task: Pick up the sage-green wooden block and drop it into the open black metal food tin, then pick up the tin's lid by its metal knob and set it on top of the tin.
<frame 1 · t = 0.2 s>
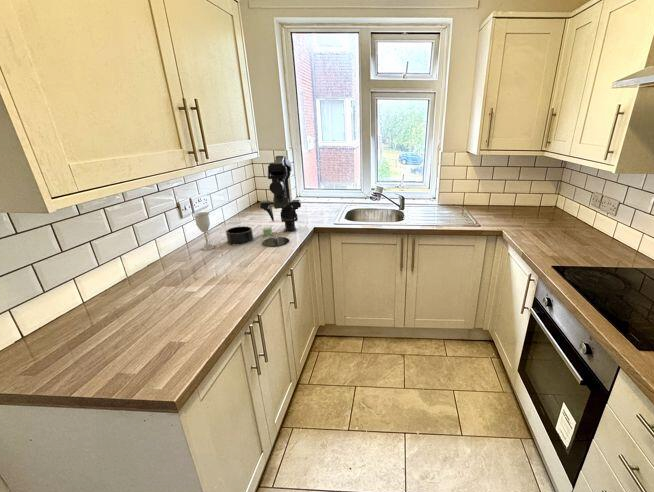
hand: (283, 221, 157), 15 cm above the worktop, tool pointing down, fingers open, 9 cm apart
tin lid: (275, 242, 169), point 1 cm above the worktop
tin: (240, 241, 171), on the worktop
chalice: (208, 248, 161), on the worktop
block: (268, 235, 180), on the worktop
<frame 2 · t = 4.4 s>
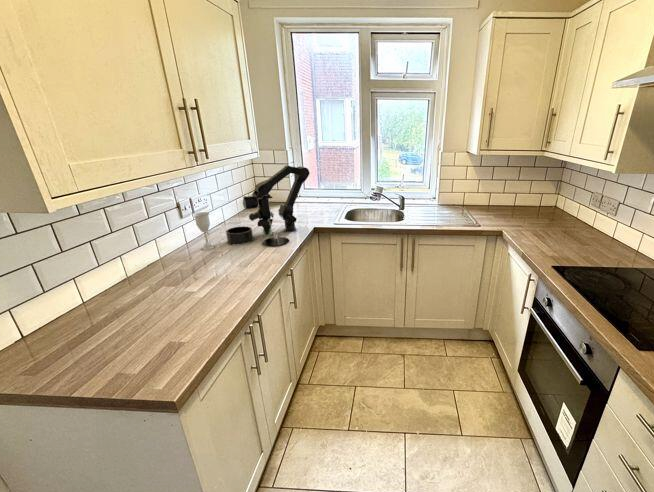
hand: (267, 233, 180), 1 cm above the worktop, tool pointing down, fingers closed on block, 4 cm apart
block: (268, 235, 180), on the worktop, touching gripper
everything else where it was.
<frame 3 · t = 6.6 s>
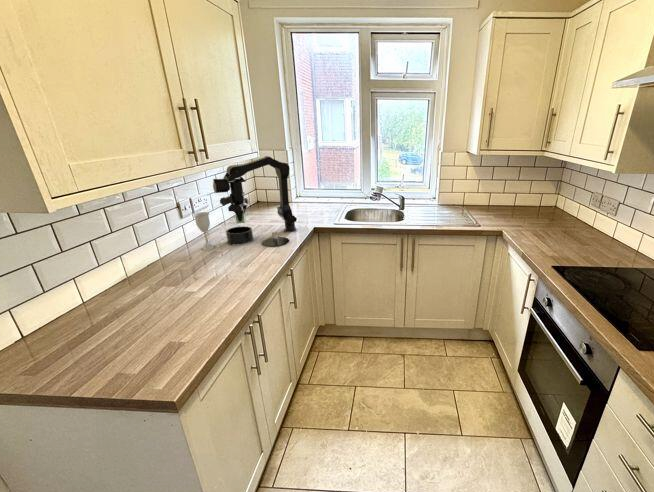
hand: (241, 220, 168), 11 cm above the worktop, tool pointing down, fingers closed on block, 4 cm apart
block: (241, 222, 168), point 10 cm above the worktop, touching gripper
everything else where it was.
when the fingers open (5 cm above the worktop, at t = 8.8 s): block drops 4 cm, resting on tin.
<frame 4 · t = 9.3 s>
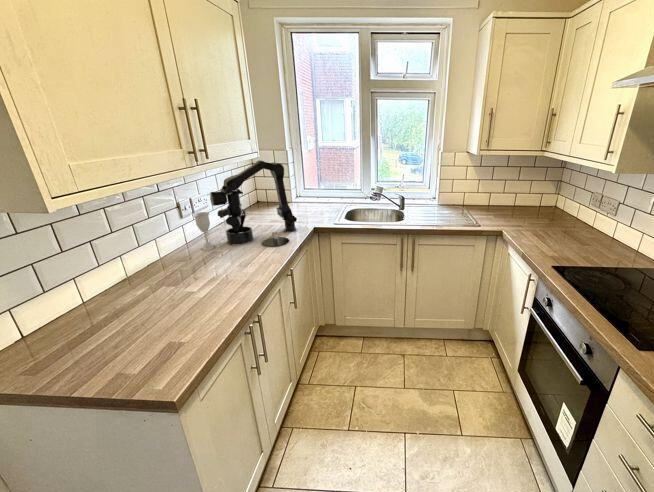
hand: (239, 231, 169), 6 cm above the worktop, tool pointing down, fingers open, 9 cm apart
block: (240, 240, 171), resting on tin
everything else where it was.
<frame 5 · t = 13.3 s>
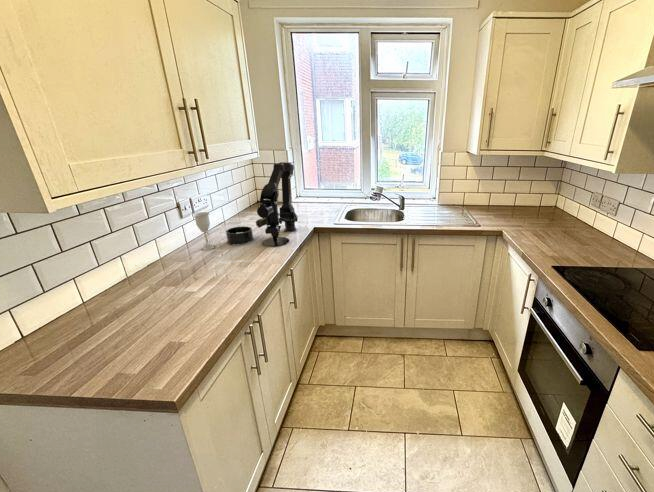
hand: (275, 240, 168), 1 cm above the worktop, tool pointing down, fingers closed on tin lid, 2 cm apart
tin lid: (275, 242, 169), point 1 cm above the worktop, touching gripper
everything else where it was.
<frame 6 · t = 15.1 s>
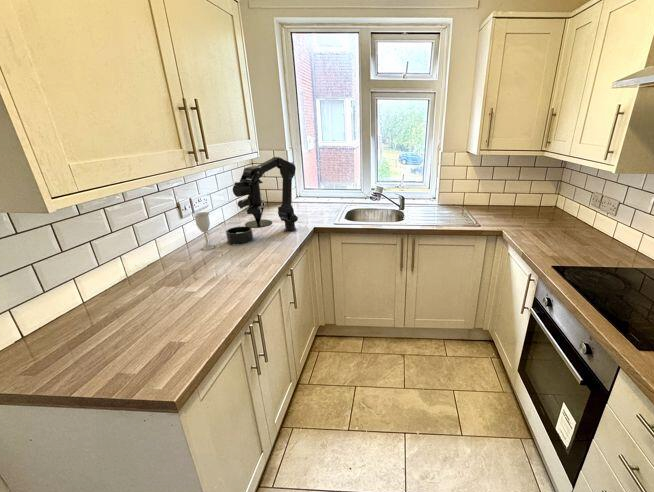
hand: (258, 222, 165), 11 cm above the worktop, tool pointing down, fingers closed on tin lid, 2 cm apart
tin lid: (258, 224, 165), point 10 cm above the worktop, touching gripper
everything else where it was.
when the fingers open (7 cm above the worktop, at t = 17.3 s): tin lid stays where it is, resting on tin.
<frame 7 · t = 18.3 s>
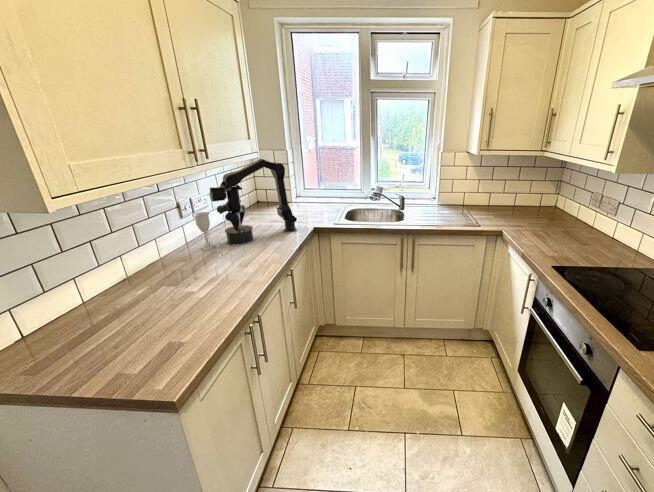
hand: (238, 227, 168), 8 cm above the worktop, tool pointing down, fingers open, 9 cm apart
tin lid: (239, 230, 168), point 6 cm above the worktop, touching tin
everything else where it was.
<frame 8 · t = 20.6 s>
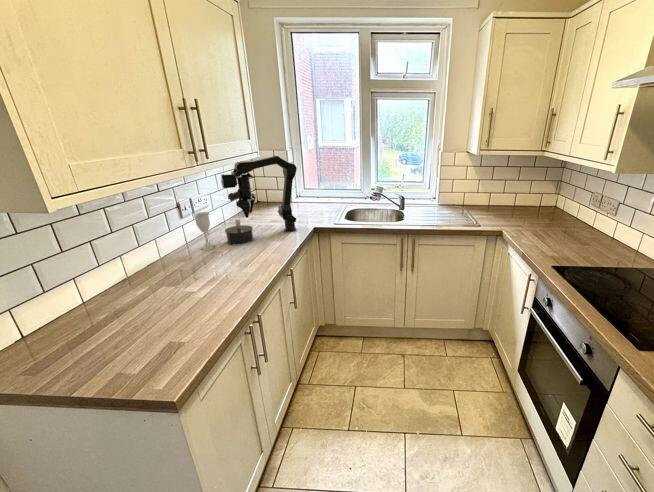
hand: (248, 215, 171), 13 cm above the worktop, tool pointing down, fingers open, 9 cm apart
nothing on the worktop moved.
at the end: block inside the target area in the tin (0.0 cm from its centre), point 0.4 cm above the tin's base; tin lid 0.1 cm off-centre on the tin, point 6.4 cm above the tin's base; tin lid tilted 0° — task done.
